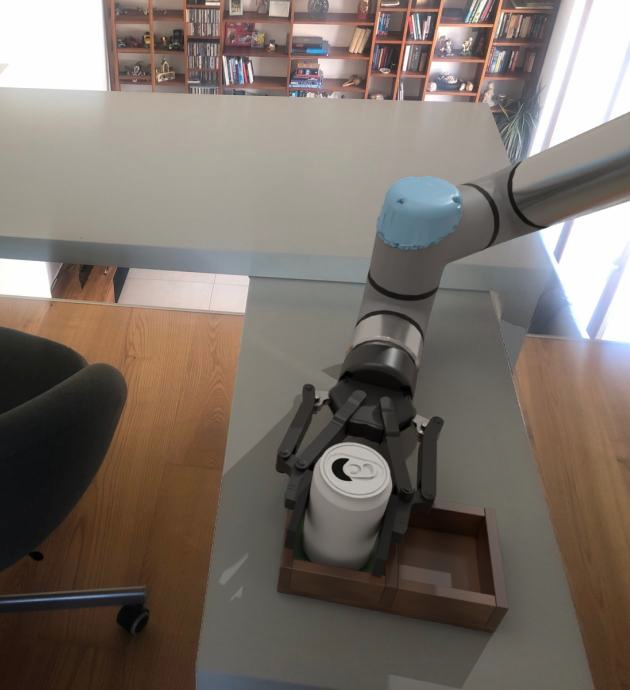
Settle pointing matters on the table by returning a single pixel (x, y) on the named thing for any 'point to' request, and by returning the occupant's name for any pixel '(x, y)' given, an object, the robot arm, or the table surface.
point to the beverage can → (346, 506)
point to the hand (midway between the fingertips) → (333, 553)
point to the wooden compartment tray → (417, 570)
